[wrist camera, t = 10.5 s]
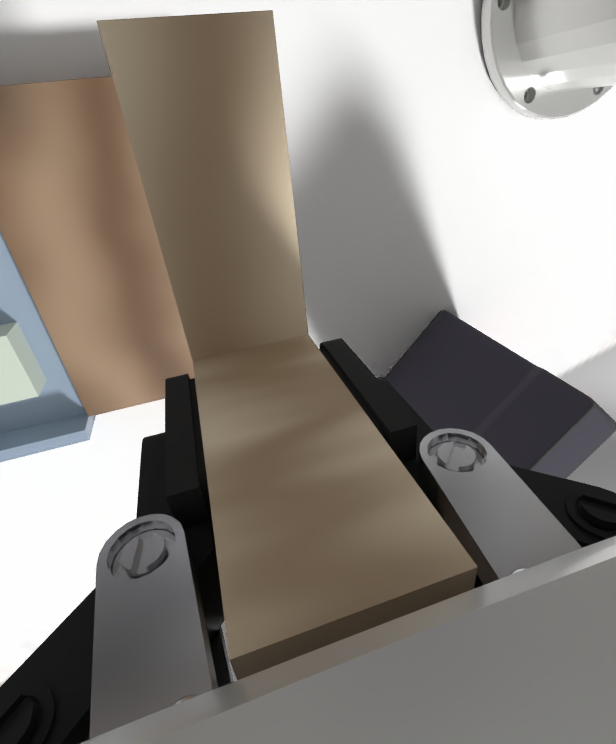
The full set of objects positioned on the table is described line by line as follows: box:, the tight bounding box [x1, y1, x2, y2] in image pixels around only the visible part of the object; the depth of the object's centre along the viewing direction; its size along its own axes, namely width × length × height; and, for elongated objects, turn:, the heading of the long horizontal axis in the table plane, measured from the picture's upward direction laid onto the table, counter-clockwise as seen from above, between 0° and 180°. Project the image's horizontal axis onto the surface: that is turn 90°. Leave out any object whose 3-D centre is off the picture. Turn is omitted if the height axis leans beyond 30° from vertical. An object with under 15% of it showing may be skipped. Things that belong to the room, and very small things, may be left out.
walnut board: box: [0, 76, 195, 417], centre depth 25 cm, size 12×18×2 cm, turn 5°
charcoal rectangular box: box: [385, 310, 616, 479], centre depth 30 cm, size 11×4×15 cm, turn 141°
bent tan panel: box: [97, 10, 478, 680], centre depth 9 cm, size 3×16×10 cm, turn 5°
